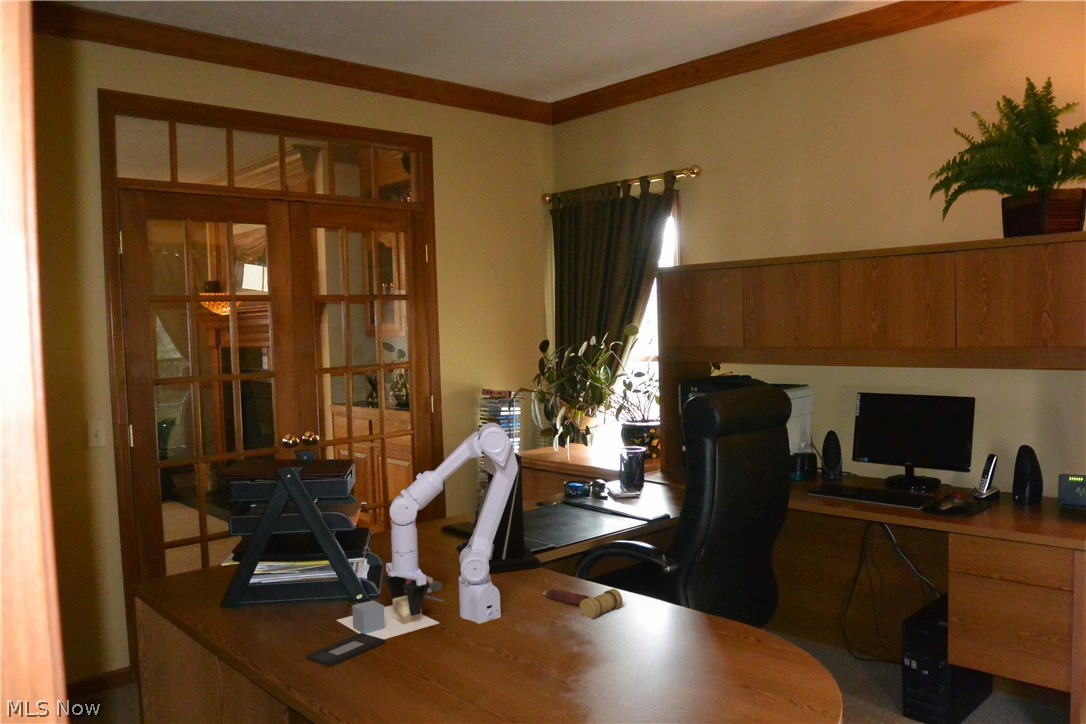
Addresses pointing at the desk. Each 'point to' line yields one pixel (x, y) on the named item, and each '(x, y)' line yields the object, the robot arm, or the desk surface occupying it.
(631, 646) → the desk surface
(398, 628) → the blank cream board
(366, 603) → the slate block
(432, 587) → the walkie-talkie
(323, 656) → the vhs tape
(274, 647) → the desk surface
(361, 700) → the desk surface
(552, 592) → the gavel
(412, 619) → the maple cube
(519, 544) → the award
